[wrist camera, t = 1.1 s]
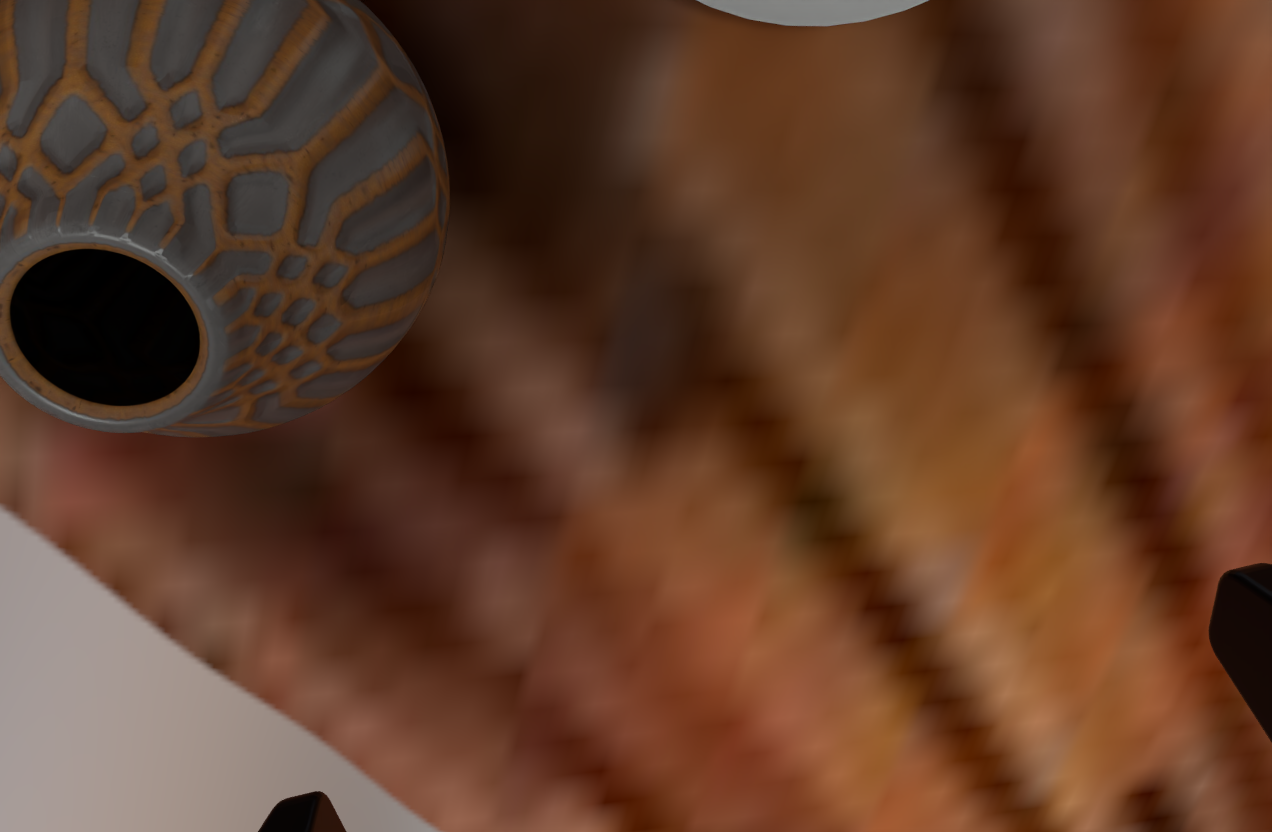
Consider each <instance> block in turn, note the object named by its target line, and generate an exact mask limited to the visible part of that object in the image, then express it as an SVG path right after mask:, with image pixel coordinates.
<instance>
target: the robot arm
mask: <svg viewBox="0 0 1272 832" xmlns="http://www.w3.org/2000/svg"><path fill="white" fill-rule="evenodd" d="M1209 639H1210V643H1211V646H1212V648H1213V651H1214V653H1215V655H1216V656H1217V658H1218V660H1219V661H1220V663H1221V664H1222V666H1223V667H1224V669H1225V671H1226V672H1227V674H1228V675H1229V677H1230V678H1231V680H1232V681H1233V683H1234V685H1235V686H1236V688H1237V689H1238V691H1239V692H1240V694H1241V695H1242V697H1243V699H1244V700H1245V702H1246V703H1247V705H1248V706H1249V708H1250V709H1251V711H1252V713H1253V714H1254V716H1255V717H1256V719H1257V720H1258V722H1259V723H1260V725H1261V727H1262V728H1263V730H1264V731H1265V733H1266V734H1267V736H1268V738H1269V739H1270V741H1271V742H1272V564H1267V563H1258V564H1253V565H1249V566H1245V567H1241V568H1237V569H1233V570H1229V571H1227V572H1225V573H1224V574H1223V575H1222V577H1221V578H1220V580H1219V583H1218V587H1217V592H1216V597H1215V601H1214V606H1213V610H1212V615H1211V619H1210V624H1209ZM258 832H346V830H345V828H344V826H343V825H342V823H341V821H340V819H339V817H338V815H337V813H336V811H335V809H334V807H333V805H332V803H331V801H330V800H329V798H328V797H327V795H325V794H324V793H323V792H320V791H318V792H317V791H315V792H311V793H307V794H303V795H299V796H295V797H290V798H287V799H284V800H282V801H280V802H279V803H278V804H277V805H276V806H275V807H274V808H273V809H272V811H271V812H270V814H269V815H268V817H267V819H266V820H265V822H264V823H263V825H262V827H261V828H260V829H259V831H258Z"/></svg>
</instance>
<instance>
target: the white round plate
mask: <svg viewBox="0 0 1272 832" xmlns="http://www.w3.org/2000/svg"><path fill="white" fill-rule="evenodd" d="M697 1H699V2H701V3H703V4H705V5H707V6H709V7H712V8H715V9H718V10H721V11H724V12H727V13H730V14H734V15H737V16H740V17H743V18H746V19H750V20H756V21H762V22H768V23H774V24H780V25H786V26H833V25H840V24H848V23H856V22H863V21H868V20H872V19H876V18H879V17H883V16H887V15H890V14H894V13H897V12H901V11H905V10H907V9H910V8H912V7H914V6H917V5H919V4H921V3H924V2H926V1H928V0H697Z"/></svg>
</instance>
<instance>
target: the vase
mask: <svg viewBox="0 0 1272 832" xmlns="http://www.w3.org/2000/svg"><path fill="white" fill-rule="evenodd" d="M449 212H450V184H449V173H448V163H447V156H446V151H445V145H444V141H443V137H442V133H441V129H440V126H439V123H438V120H437V117H436V114H435V111H434V108H433V105H432V102H431V100H430V98H429V95H428V93H427V91H426V88H425V86H424V84H423V82H422V80H421V78H420V76H419V74H418V73H417V71H416V69H415V67H414V65H413V64H412V62H411V61H410V59H409V57H408V56H407V54H406V53H405V51H404V50H403V48H402V47H401V46H400V44H399V43H398V41H397V40H396V39H395V37H394V36H393V35H392V34H391V32H390V31H389V30H388V29H387V28H386V27H385V25H384V24H383V23H382V22H381V21H380V20H379V19H378V18H377V17H376V16H375V15H374V13H373V12H372V11H371V10H370V9H369V8H368V7H367V6H366V5H364V4H363V3H362V2H361V1H360V0H0V376H1V377H2V378H3V379H4V380H5V382H6V383H7V384H8V385H9V386H10V387H11V388H13V389H14V390H15V391H16V392H17V393H18V394H19V395H21V396H22V397H23V398H24V399H26V400H27V401H28V402H30V403H31V404H33V405H34V406H36V407H37V408H39V409H41V410H42V411H44V412H46V413H48V414H50V415H52V416H54V417H56V418H58V419H61V420H63V421H65V422H68V423H71V424H74V425H77V426H81V427H84V428H88V429H93V430H98V431H104V432H114V433H134V432H146V433H152V434H158V435H167V436H176V437H215V436H227V435H237V434H243V433H250V432H254V431H259V430H263V429H267V428H271V427H274V426H277V425H281V424H283V423H286V422H289V421H291V420H294V419H297V418H299V417H302V416H304V415H306V414H308V413H311V412H313V411H315V410H317V409H319V408H321V407H323V406H324V405H326V404H328V403H330V402H332V401H333V400H335V399H336V398H338V397H339V396H341V395H342V394H344V393H345V392H347V391H348V390H350V389H351V388H353V387H354V386H355V385H356V384H358V383H359V382H360V381H361V380H363V379H364V378H365V377H366V376H367V375H369V374H370V373H371V372H372V371H373V370H374V369H375V368H376V367H377V366H378V365H379V364H380V363H381V362H382V361H383V360H384V359H385V358H386V357H387V356H388V355H389V354H390V353H391V352H392V351H393V350H394V349H395V347H396V346H397V345H398V343H399V342H400V341H401V339H402V338H403V337H404V336H405V334H406V333H407V332H408V330H409V329H410V328H411V326H412V325H413V323H414V322H415V320H416V318H417V317H418V315H419V313H420V312H421V310H422V308H423V306H424V304H425V302H426V300H427V298H428V296H429V294H430V292H431V289H432V287H433V285H434V282H435V280H436V277H437V275H438V272H439V269H440V265H441V261H442V258H443V254H444V249H445V243H446V236H447V230H448V223H449Z"/></svg>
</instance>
